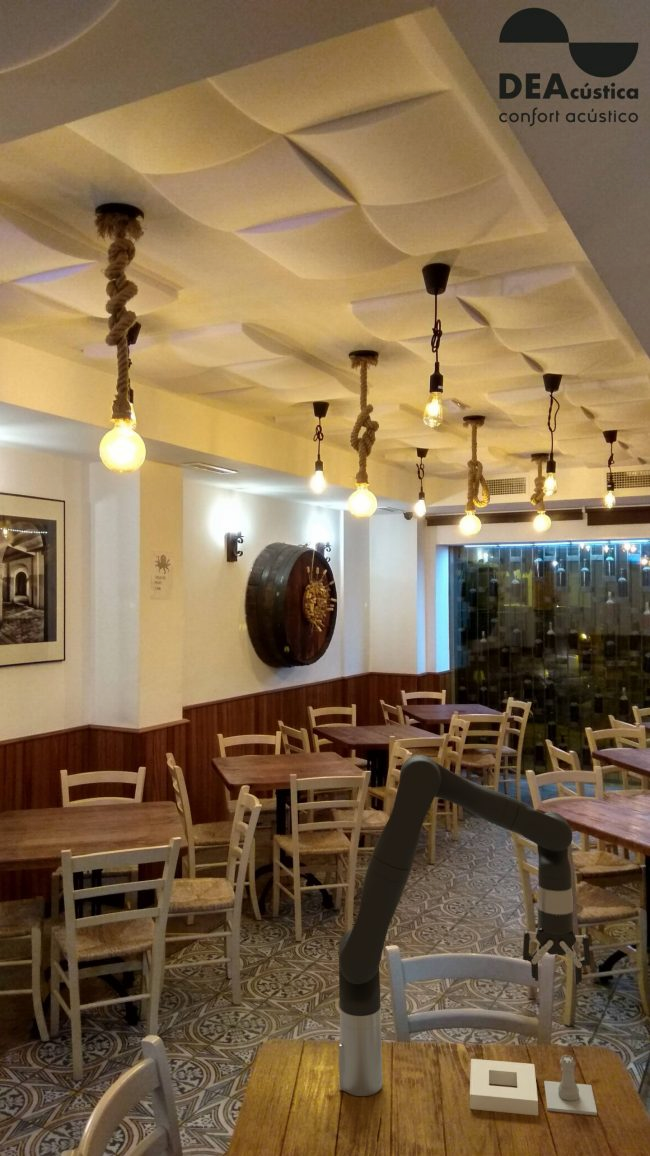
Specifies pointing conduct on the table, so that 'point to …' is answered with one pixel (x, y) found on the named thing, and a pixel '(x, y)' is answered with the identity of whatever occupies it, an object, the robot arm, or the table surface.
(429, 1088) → the table surface
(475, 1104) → the pocket holder
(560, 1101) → the grey mat
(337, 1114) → the table surface
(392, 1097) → the table surface
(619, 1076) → the table surface
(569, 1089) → the rook chess piece
